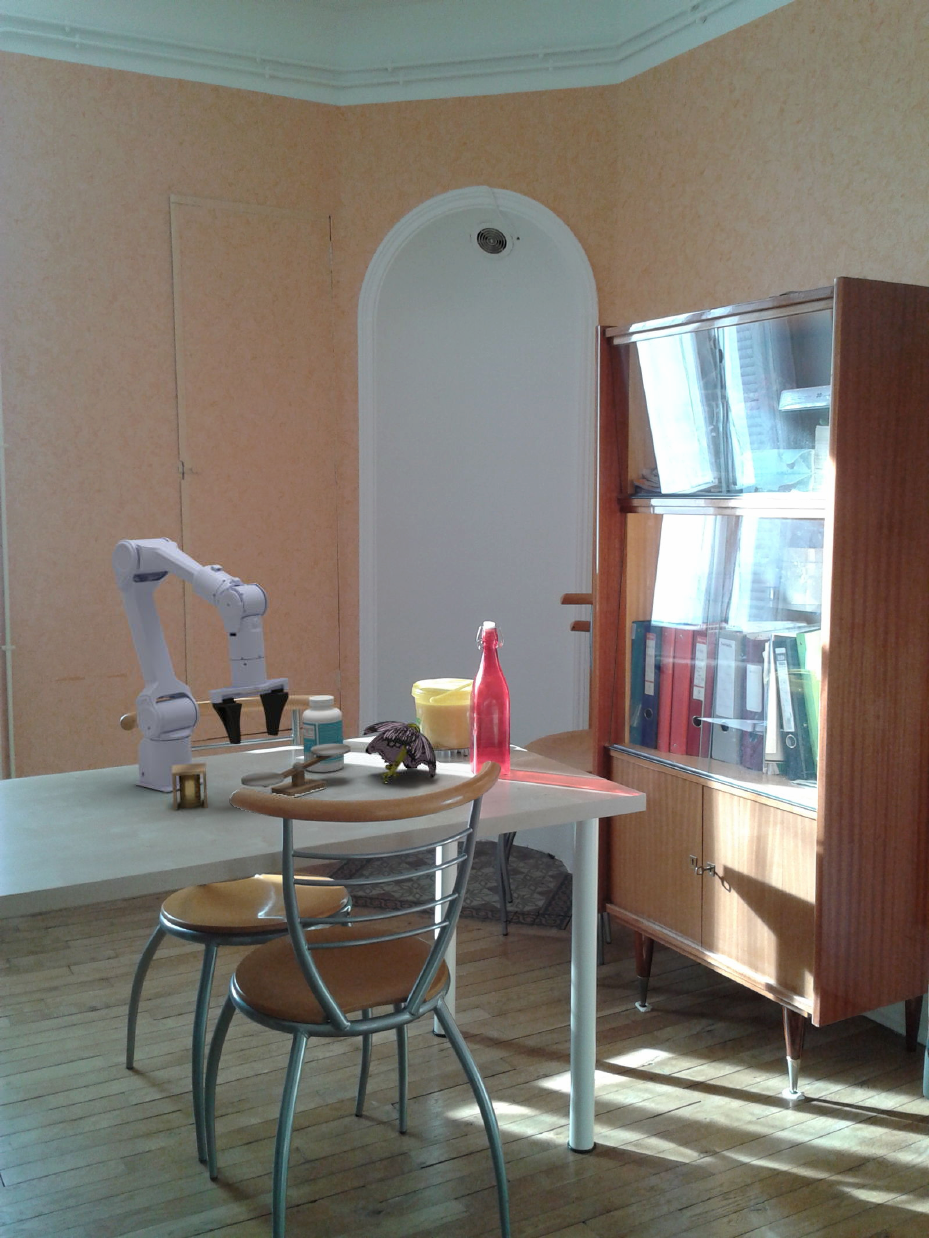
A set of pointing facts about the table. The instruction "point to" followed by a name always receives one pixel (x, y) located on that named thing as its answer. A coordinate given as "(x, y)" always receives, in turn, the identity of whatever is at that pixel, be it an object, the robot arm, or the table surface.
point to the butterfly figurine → (401, 747)
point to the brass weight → (190, 790)
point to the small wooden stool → (188, 770)
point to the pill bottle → (322, 731)
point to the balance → (296, 773)
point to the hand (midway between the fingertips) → (254, 739)
